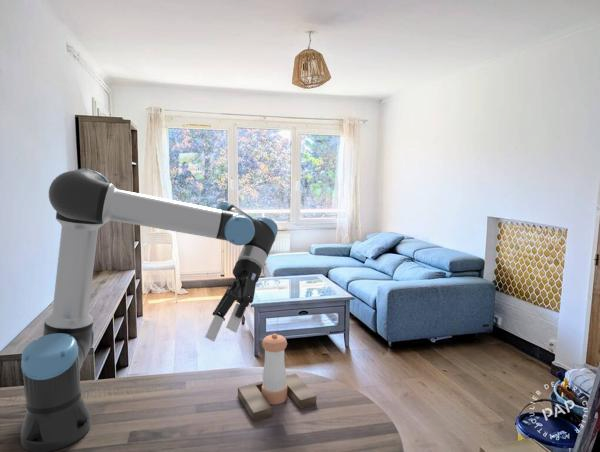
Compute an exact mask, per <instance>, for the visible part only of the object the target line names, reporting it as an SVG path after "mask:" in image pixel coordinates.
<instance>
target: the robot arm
mask: <svg viewBox="0 0 600 452" xmlns="http://www.w3.org/2000/svg"><path fill="white" fill-rule="evenodd" d="M48 199H49V200H48V201H49V202H50V205H51V206H52V208H53V210H54V211H56V212H55V219H56V221H57V222H58V223H59V224H60V225H61V231H60V239H59V240H60V241H59V248H58V258H57V265H56V274H55V275H56V276H55V285H54V293H53V302H52V303H53V304H52V312H51V313H50V314H48V315H47V316H46V317H45V318H44V325H43V334H42V336H40V337H38V338H37V339H34V340H32V341H30V342H29V343H28V344H27V345H26V346H25V347H24V349H23V350H22V352H21V361H20V367H21V368H20V369H21V372H22V380H23V389H24V398H25V405H26V412H25V415H24V420H23V422H22V426H21V429H20V444H21V447H23V449H24V450H26V451H28V452H54V451H57V450H60V449H63V448H65V447H69V446H70V445H73V444H75V443H76V442H78V441H79V440H81V439H82V438H83V437H84V436H85V435H87V433H88V432H89V431H90V429H91V427H92V415H91V412H90V410H89V408H88V407H87V404H86V403H85V400H84V398H83V396H82V390H81V389H82V387H81V375H80V373H81V370H82V369H81V368H82V367H83V366H84V362H85V360H86V358H87V357H88V354H89V352H90V351H91V349H92V347H93V344H94V342H95V341H94V340H95V335H94V334H95V333H94V329H93V326H94V325H93V324H94V317H93V315H91V314H90V313H89V309H90V300H91V292H92V291H91V290H92V286H93V285H92V284H93V283H92V282H93V276H94V275H93V274H94V266H95V259H96V250H97V241H98V234H99V233H98V232H99V229H101V227H103V226H104V225H105V224H107V223H108V222H110V221H112V222H118V223H123V224H125V223H126V224H131V225H135V226H142V227H147V228H152V229H153V228H154V229H159V230H164V231H165V230H166V231H170V232H175V233H182V234H188V235H192V236H193V235H194V236H199V237H200V236H201V237H205V238H211V239H216V240H221V241H226V242H229V243H230V244H232V245H234V246H243V247H242V248H241V251H240V253H239V255H238V258H237V261H236V262H235V265H234V267H233V269H232V274H233V276H234V277H235V280H234V281H233V282H232V283H229V284H228V287H227V289H226V291H225V293H224V294H223V296H222V297H221V299H220V301H219V302H218V303H217V306H216V307H215V309H214V310H213V311H212V313H211V314H212V316H213V318H212V320H211V323H210V325H209V327H208V329H207V332H206V333H205V336H204V338H206V339H208V340H210V341H211V342H215V341H216V339H217V337H218V334H219V332H220V331H221V327H222V325H223V322H225V320H226V318H225V316H226V314H227V313H228V312H229V310H230V309H231V308H232V306H233V305H234V303H235V302H237V303H235V305H234V307H233V310H232V312H231V314H230V318H229V319H228V321H227V324H226V326H225V328H226V329H227V330H230V331H231V332H234V333H237V332H238V330H239V327H240V325H241V322H242V320H243V318H244V315H245V312H246V310H247V308H248V307H249V306H250V304H252V303H254V299H255V298H254V297H255V292H256V286H257V283H258V281H259V280H260V277H261V274H262V272H263V269H264V267H265V266H267V262H266V261H267V260H268V257H269V254H270V252H271V250H272V247H273V245H274V243H275V241H276V238H277V236H278V235H277V234H278V231H279V228H278V225H277V223H276V222H275V221H274V220H273V219H271V218H267V217H266V216H259V217H257V218H256V219H255V218H254V217H252V216H251V215H249V214H247V213H246V212H244V211H243V210H242V209H240V208H238V207H237V206H235V205H234V204H233V203H231V202H228V201H227V200H222V201H220V202H219V204H217V206H216V207H215V208H213V207H208V206H204V205H203V206H202V205H197V204H195V203H188V202H183V201H178V200H172V199H168V198H164V197H163V198H162V197H157V196H153V195H148V194H142V193H138V192H134V191H133V192H132V191H127V190H123V189H118V188H116V186H115V185H114V184H113V183H110V182H109V180H108V179H107V178H106V177H105V176H104V175H103V174H102V173H100V172H98V171H96V170H92V169H89V168H77V169H75V170H69V171H65V172H61V174H59V175H57V176H56V177H55V178H54V179H53V180H52V182H51V184H50V186H49V188H48Z"/></svg>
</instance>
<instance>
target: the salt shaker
mask: <svg viewBox="0 0 600 452" xmlns="http://www.w3.org/2000/svg"><path fill="white" fill-rule="evenodd" d="M287 345H288V342H287V339H286V337H285V336H283V335H281V334H277V333H272V334H269V335H266V336H265V337H264V338H263V339H262V342H261V346H262V348H263V349H264V364H263V370H262V371H263V372H262V381H263V385H262V392H261V393H262V395H263V396H264V398H265V399H266V401H267V402H268V403H269V405H274V406H275V405H279V404H280V405H281V404H283V403H285V401H287V399H288V393H287V384H286V376H287V371H286V364H285V350H286V348H287Z"/></svg>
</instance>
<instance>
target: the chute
mask: <svg viewBox="0 0 600 452" xmlns="http://www.w3.org/2000/svg"><path fill="white" fill-rule="evenodd" d="M286 384H287V395H288V396H289V397H290V398H291V399H292V401H293V402H294V403H295V404H296V406H297V407H298V408H299V409H300V410H301V409H303V408H307V407H312V406H314V405H317V394H315V393H314V392H313V390H312V389H310V387H309V386H308V385H307V384H306V383H305V382H304V381H303V379H301V377H300V376H299V375H298V374H297V373H292V374H286ZM262 385H263V380H262V381H259V382H258V381H257V382H254V383H251V384H246V385H241V386H238V387H237V396H238V398H239V399H240V402H242V404H243V406H244V408H245V409H246V412H247V414H249V416H250V418H251V419H252V420H253V422H257V421H261V420H264V419H267V418H268V419H269V418H271V417H272V416H273V415H272V414H273V411H272V406H271V404H269V403H268V402H267V401H266V399H265V398H264V396H263V395H262Z"/></svg>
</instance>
